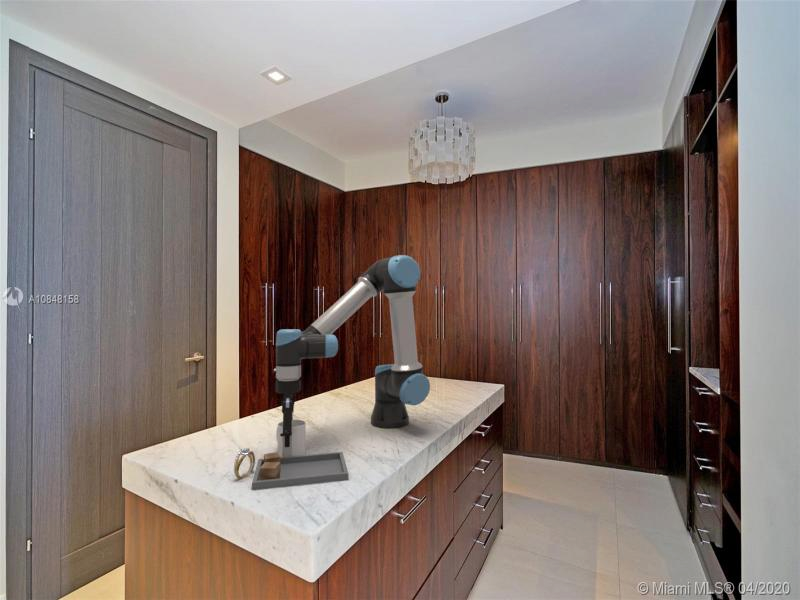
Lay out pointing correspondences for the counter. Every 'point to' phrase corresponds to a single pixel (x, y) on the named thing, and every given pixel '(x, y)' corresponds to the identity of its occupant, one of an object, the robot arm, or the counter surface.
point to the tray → (304, 470)
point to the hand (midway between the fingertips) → (287, 451)
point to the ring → (237, 463)
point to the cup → (294, 437)
